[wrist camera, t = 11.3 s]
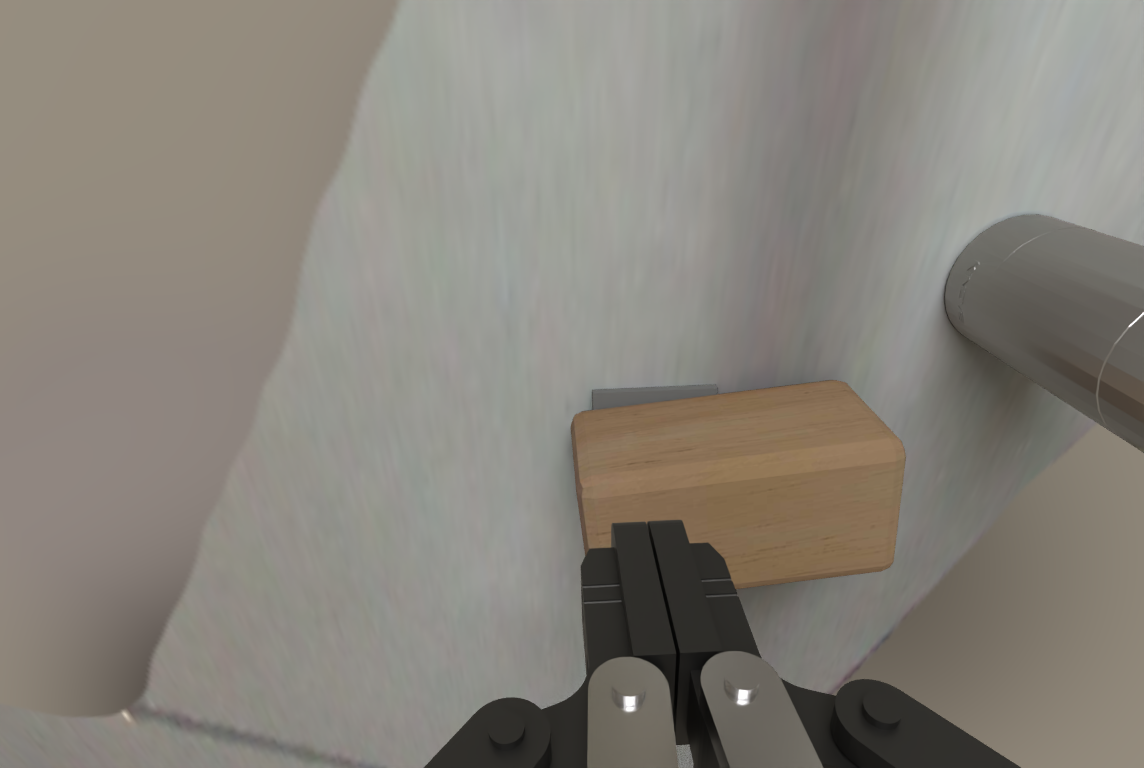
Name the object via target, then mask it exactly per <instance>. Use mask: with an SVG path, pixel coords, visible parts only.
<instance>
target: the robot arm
mask: <svg viewBox="0 0 1144 768" xmlns="http://www.w3.org/2000/svg"><path fill="white" fill-rule="evenodd" d="M945 305H946V311H947V314H948V316H949V319H950V321H951V323H952V324H953V325H954V327H955V328H956V329H957V331H959V332H960V333H961V334H963V335H964V336H965V337H967V338H968V339H970V340H971V341H973V342H974V343H976V344H977V345H979V346H980V347H982V348H984V349H985V350H987V351H988V352H990V353H991V354H993V355H994V356H995V357H997V358H998V359H1000V360H1001V361H1003V362H1004V363H1006V364H1008V365H1009V366H1011V367H1012V368H1014V369H1015V370H1017V371H1018V372H1020V373H1021V374H1023V375H1024V376H1026V377H1028V378H1029V379H1031V380H1032V381H1034V382H1035V383H1037V384H1038V385H1040V386H1041V387H1043V388H1044V389H1046V390H1047V391H1049V392H1051V393H1052V394H1054V395H1055V396H1057V397H1058V398H1060V399H1061V400H1063V401H1064V402H1066V403H1067V404H1069V405H1071V406H1072V407H1074V408H1075V409H1077V410H1078V411H1080V412H1081V413H1083V414H1084V415H1086V416H1087V417H1089V418H1091V419H1092V420H1094V421H1095V422H1097V423H1098V424H1100V425H1101V426H1103V427H1104V428H1106V429H1107V430H1109V431H1111V432H1112V433H1114V434H1115V435H1117V436H1119V437H1120V438H1122V439H1123V440H1125V441H1126V442H1128V443H1130V444H1131V445H1133V446H1134V447H1136V448H1137V449H1139V450H1140V451H1142V452H1143V453H1144V246H1142V245H1139V244H1136V243H1132V242H1129V241H1126V240H1123V239H1120V238H1116V237H1113V236H1110V235H1107V234H1103V233H1100V232H1097V231H1095V230H1092V229H1088V228H1085V227H1082V226H1079V225H1075V224H1072V223H1069V222H1066V221H1062V220H1059V219H1056V218H1053V217H1048V216H1044V215H1039V214H1035V215H1021V216H1016V217H1012V218H1008V219H1006V220H1004V221H1001V222H999V223H997V224H995V225H993V226H991V227H990V228H988V229H987V230H985V231H984V232H982V233H981V234H979V235H978V236H977V237H976V238H975V239H974V240H973V241H972V242H971V243H970V244H968V246H967V247H966V248H965V249H964V251H963V252H962V253H961V254H960V256H959V257H958V259H957V261H956V262H955V264H954V266H953V268H952V270H951V272H950V275H949V278H948V281H947V284H946V291H945ZM581 591H582V622H583V635H584V649H585V662H586V675H587V676H586V679H585V681H584V683H583V684H582V686H581V687H580V688H579V690H578V691H577V692H576V693H574V694H573V695H572V696H571V697H569V698H568V699H566V700H565V701H562V702H560V703H558V704H555V705H553V706H550V707H547V708H545V709H542V710H541V709H540V708H539V707H538V706H537V705H535V704H534V703H532V702H530V701H528V700H525V699H521V698H502V699H498V700H495V701H492V702H490V703H488V704H486V705H485V706H483V707H482V708H480V709H479V710H478V711H477V712H476V713H475V714H474V715H473V716H472V717H471V718H470V719H469V720H468V721H467V723H466V724H465V725H464V726H463V727H462V728H461V729H460V730H459V731H458V732H457V733H456V734H455V735H454V736H453V737H452V738H451V739H450V741H449V742H448V743H447V744H446V745H445V746H444V747H443V748H442V749H441V750H440V751H439V752H438V753H437V754H436V755H435V756H434V757H433V759H432V760H431V761H430V762H429V763H428V764H427V765H426V766H425V767H424V768H679V766H678V758H677V749H676V745H686V744H690V749H691V753H692V758H693V763H694V765H693V768H1021V767H1019V766H1018V765H1016V764H1015V763H1013V762H1011V761H1010V760H1008V759H1007V758H1005V757H1004V756H1002V755H1000V754H999V753H997V752H996V751H994V750H993V749H991V748H989V747H988V746H986V745H985V744H983V743H982V742H980V741H979V740H977V739H976V738H974V737H972V736H971V735H969V734H968V733H966V732H964V731H963V730H961V729H960V728H958V727H957V726H955V725H954V724H952V723H951V722H949V721H947V720H946V719H944V718H943V717H941V716H940V715H938V714H936V713H935V712H933V711H932V710H930V709H929V708H927V707H926V706H924V705H922V704H921V703H919V702H918V701H916V700H915V699H913V698H911V697H910V696H908V695H907V694H905V693H904V692H902V691H901V690H899V689H897V688H895V687H893V686H891V685H889V684H886V683H883V682H880V681H876V680H869V679H861V680H855V681H851V682H849V683H847V684H845V685H844V686H843V687H841V688H840V690H839V691H838V693H837V695H836V696H834V695H830V694H825V693H821V692H816V691H812V690H808V689H804V688H800V687H797V686H795V685H792V684H790V683H788V682H786V681H785V680H783V679H781V678H780V677H779V675H778V673H777V672H776V671H775V669H774V668H773V667H772V666H771V665H770V664H768V663H767V662H766V661H764V660H763V659H762V658H761V656H760V654H759V651H758V649H757V646H756V643H755V640H754V638H753V635H752V632H751V630H750V627H749V624H748V621H747V619H746V616H745V613H744V611H743V608H742V605H741V603H740V600H739V597H737V592H736V589H735V586H734V584H733V581H731V575H730V573H729V570H728V567H727V565H726V562H725V559H724V558H723V557H722V556H721V555H720V554H719V553H718V552H717V551H716V550H715V549H714V548H713V547H712V546H711V545H710V544H709V543H708V542H707V543H689V540H688V537H687V533H686V530H685V527H684V524H683V521H682V520H661V521H648V522H647V524H646V522H645V521H644V522H623V523H612V525H611V548H591V549H589V550H588V552H587V554H586V556H585V558H584V560H583V562H582V565H581Z"/></svg>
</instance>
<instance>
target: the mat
mask: <svg viewBox="0 0 1144 768" xmlns="http://www.w3.org/2000/svg"><path fill="white" fill-rule="evenodd" d="M717 391H718V388H717V386H716V384H715V385H692V386H669V387H646V388H622V389H599V390H592V402H593V410H598V409H605V408H613V407H621V406H629V405H637V404H645V403H653V402H661V401H669V400H677V399H685V398H693V397H701V396H709V395H717Z"/></svg>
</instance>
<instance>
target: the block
mask: <svg viewBox="0 0 1144 768" xmlns="http://www.w3.org/2000/svg"><path fill="white" fill-rule="evenodd" d="M571 435H572V446H573V458H574V470H575V481H576V492H577V499H578V507H579V514H580V521H581V528H582V535H583V542H584V549H585V556H586V554H587V552H588V550H589V549H591V548H611V525H612V523H623V522H644V521H645V522H646V524H647V522H648V521H661V520H682V521H683V524H684V527H685V530H686V533H687V537H688V540H689V543H707V542H708V543H709V544H710V545H711V546H712V547H713V548H714V549H715V550H716V551H717V552H718V553H719V554H720V555H721V556H722V557H723V558H724V559H725V562H726V565H727V567H728V570H729V573H730V575H731V581H733V584H734V586H735V589H740V588H748V587H756V586H765V585H773V584H781V583H789V582H797V581H805V580H814V579H822V578H830V577H838V576H846V575H854V574H863V573H871V572H879V571H883V570H885V569H887V568H889V567H890V566H891V564H892V563H893V560H894V552H895V543H896V535H897V527H898V518H899V510H900V501H901V493H902V485H903V476H904V468H905V459H906V455H905V449H904V447H903V444H902V442H901V440H900V439H899V438H898V437H897V436H896V435H895V434H894V433H893V432H892V431H891V430H890V429H889V428H888V427H887V426H886V424H885V423H884V422H883V421H882V420H881V419H880V418H879V417H878V416H877V415H876V414H875V413H874V412H873V411H872V410H871V409H870V408H869V407H868V406H867V404H866V403H865V402H864V401H863V400H862V399H861V398H860V397H859V396H858V395H857V394H856V393H855V392H854V391H853V390H852V389H851V388H850V387H849V386H848V384H847V383H845V382H841V381H836V380H828V381H820V382H812V383H804V384H796V385H788V386H780V387H772V388H764V389H756V390H748V391H740V392H732V393H724V394H717V395H709V396H701V397H693V398H685V399H677V400H669V401H661V402H653V403H645V404H637V405H629V406H621V407H613V408H605V409H598V410H590V411H583V412H580V413H578V414H576V415H575V416H574V418H573V421H572V424H571Z"/></svg>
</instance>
